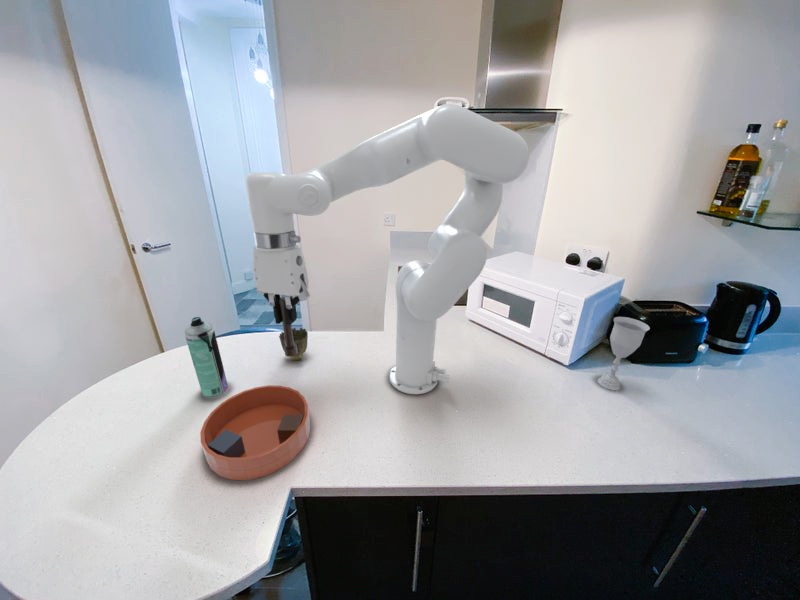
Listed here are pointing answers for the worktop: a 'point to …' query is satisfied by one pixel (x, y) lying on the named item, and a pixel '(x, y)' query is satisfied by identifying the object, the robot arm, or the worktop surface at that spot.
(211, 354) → the spray can
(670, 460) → the worktop surface
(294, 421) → the walnut block
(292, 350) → the muddler
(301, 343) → the cup
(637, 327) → the chalice
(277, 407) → the bowl
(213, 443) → the slate block
